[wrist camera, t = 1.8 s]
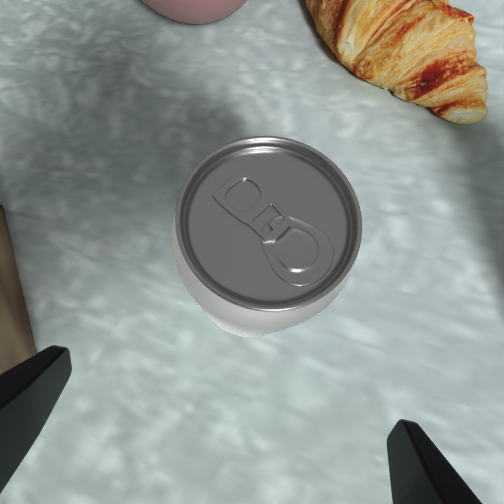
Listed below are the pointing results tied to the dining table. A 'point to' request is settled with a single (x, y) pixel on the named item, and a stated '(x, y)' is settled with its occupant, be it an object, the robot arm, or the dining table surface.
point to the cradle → (12, 308)
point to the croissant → (409, 51)
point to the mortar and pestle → (195, 9)
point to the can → (265, 234)
